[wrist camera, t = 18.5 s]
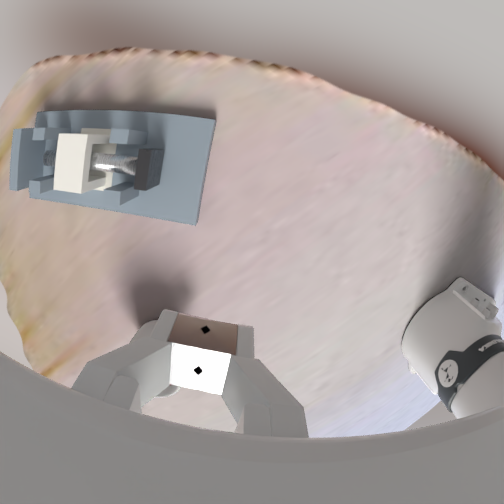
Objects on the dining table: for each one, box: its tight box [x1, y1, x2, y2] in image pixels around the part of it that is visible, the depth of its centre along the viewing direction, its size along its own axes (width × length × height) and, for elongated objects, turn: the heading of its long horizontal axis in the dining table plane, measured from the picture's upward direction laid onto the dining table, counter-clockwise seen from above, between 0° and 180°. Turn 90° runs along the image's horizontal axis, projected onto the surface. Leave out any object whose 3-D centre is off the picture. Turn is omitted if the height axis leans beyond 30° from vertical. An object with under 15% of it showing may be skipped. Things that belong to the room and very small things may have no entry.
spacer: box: [53, 133, 110, 194], centre depth 23 cm, size 4×6×5 cm, turn 168°
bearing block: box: [10, 110, 216, 226], centre depth 24 cm, size 23×11×6 cm, turn 78°
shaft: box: [43, 148, 165, 191], centre depth 23 cm, size 14×4×4 cm, turn 78°
